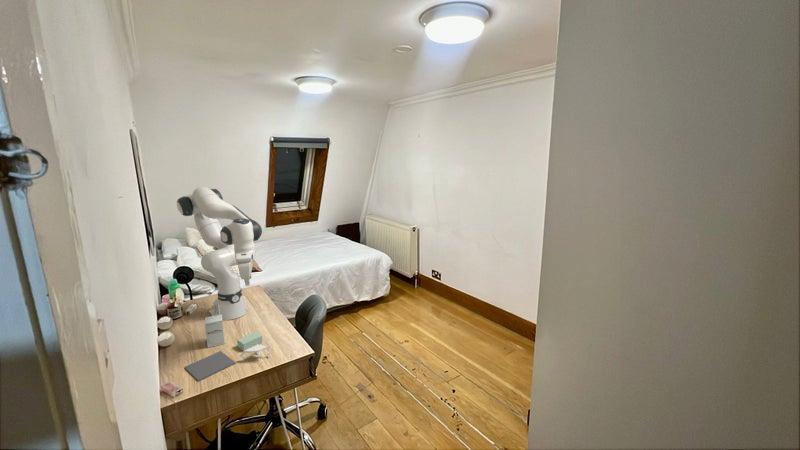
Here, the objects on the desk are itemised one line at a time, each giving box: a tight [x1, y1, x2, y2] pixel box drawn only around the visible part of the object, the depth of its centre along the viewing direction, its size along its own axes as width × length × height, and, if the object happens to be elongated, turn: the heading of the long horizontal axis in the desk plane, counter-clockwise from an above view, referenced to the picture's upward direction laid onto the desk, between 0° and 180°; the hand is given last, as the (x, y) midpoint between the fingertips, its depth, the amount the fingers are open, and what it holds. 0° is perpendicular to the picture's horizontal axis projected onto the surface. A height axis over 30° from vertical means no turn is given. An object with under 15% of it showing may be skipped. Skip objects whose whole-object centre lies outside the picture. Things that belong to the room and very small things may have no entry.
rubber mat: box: [184, 350, 237, 382], centre depth 145 cm, size 14×15×1 cm
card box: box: [236, 331, 263, 351], centre depth 161 cm, size 6×9×4 cm, turn 142°
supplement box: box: [204, 314, 226, 349], centre depth 162 cm, size 7×7×13 cm
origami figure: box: [239, 344, 272, 361], centre depth 151 cm, size 12×8×5 cm
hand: (248, 281), depth 160 cm, fingers open, 8 cm apart
